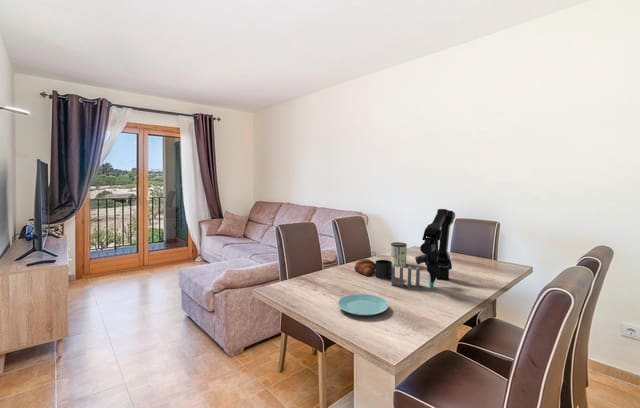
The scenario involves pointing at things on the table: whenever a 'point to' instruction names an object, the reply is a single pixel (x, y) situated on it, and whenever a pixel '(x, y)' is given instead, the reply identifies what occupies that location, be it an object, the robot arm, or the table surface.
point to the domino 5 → (431, 284)
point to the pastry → (365, 267)
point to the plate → (363, 304)
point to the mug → (383, 269)
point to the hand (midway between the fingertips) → (431, 280)
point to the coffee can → (398, 253)
